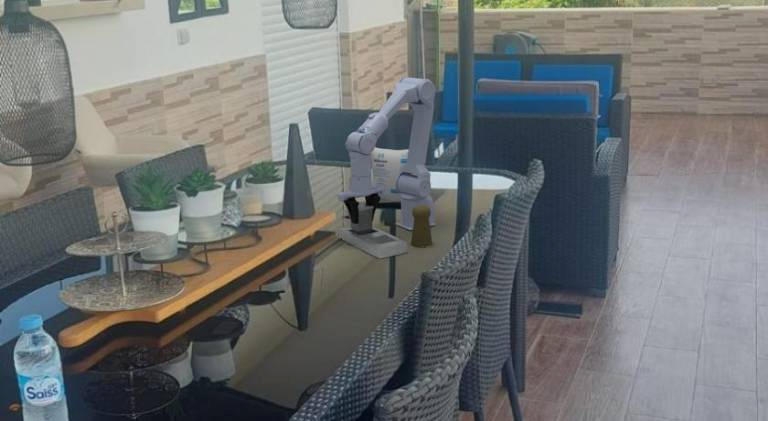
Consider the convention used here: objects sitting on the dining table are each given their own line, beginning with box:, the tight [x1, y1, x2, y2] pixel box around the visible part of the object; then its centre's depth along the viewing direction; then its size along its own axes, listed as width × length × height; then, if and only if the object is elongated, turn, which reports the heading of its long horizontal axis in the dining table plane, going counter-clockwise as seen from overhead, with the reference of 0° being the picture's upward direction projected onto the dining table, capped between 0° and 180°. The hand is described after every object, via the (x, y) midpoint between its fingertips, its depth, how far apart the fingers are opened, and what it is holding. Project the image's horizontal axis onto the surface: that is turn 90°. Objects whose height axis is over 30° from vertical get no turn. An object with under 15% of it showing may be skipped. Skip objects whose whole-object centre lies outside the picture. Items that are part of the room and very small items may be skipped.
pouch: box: [371, 146, 417, 204], centre depth 291 cm, size 8×19×20 cm, turn 74°
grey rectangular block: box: [350, 200, 373, 232], centre depth 258 cm, size 5×5×7 cm
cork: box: [410, 205, 433, 248], centre depth 254 cm, size 6×6×11 cm
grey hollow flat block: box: [338, 225, 408, 260], centre depth 255 cm, size 9×22×3 cm, turn 32°
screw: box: [344, 176, 351, 219], centre depth 281 cm, size 13×5×5 cm
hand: (362, 221), depth 258 cm, fingers closed on grey rectangular block, 5 cm apart
